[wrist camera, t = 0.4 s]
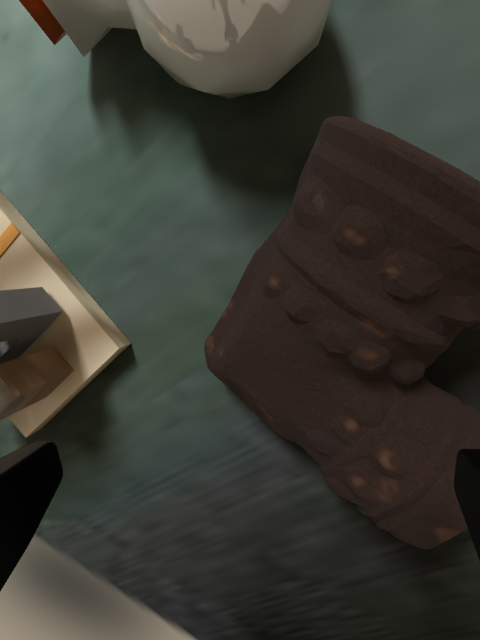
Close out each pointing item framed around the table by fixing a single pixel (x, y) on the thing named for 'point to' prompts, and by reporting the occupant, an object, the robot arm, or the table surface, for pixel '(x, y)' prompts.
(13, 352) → the collar
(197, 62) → the potion bottle
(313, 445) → the brown curved lump
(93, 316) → the pipe rig
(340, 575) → the table surface
